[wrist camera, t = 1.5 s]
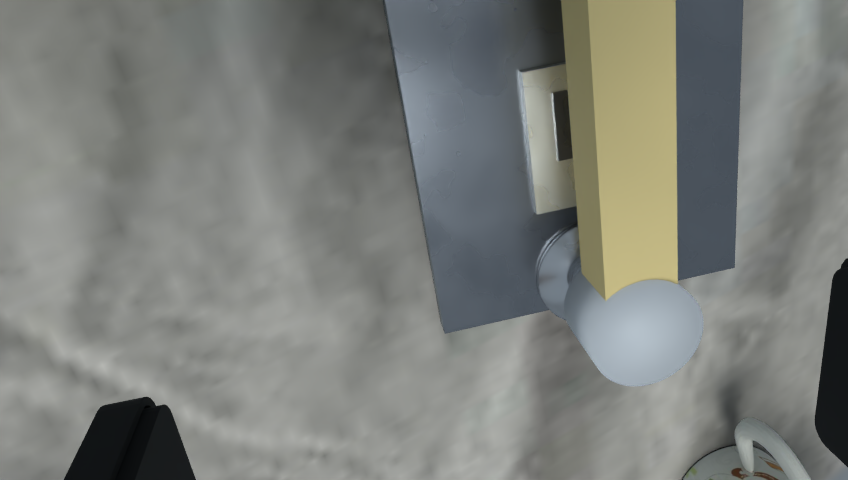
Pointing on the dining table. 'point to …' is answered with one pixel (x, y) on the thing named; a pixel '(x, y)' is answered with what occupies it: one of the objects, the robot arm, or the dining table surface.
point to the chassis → (544, 147)
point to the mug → (750, 457)
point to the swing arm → (626, 190)
